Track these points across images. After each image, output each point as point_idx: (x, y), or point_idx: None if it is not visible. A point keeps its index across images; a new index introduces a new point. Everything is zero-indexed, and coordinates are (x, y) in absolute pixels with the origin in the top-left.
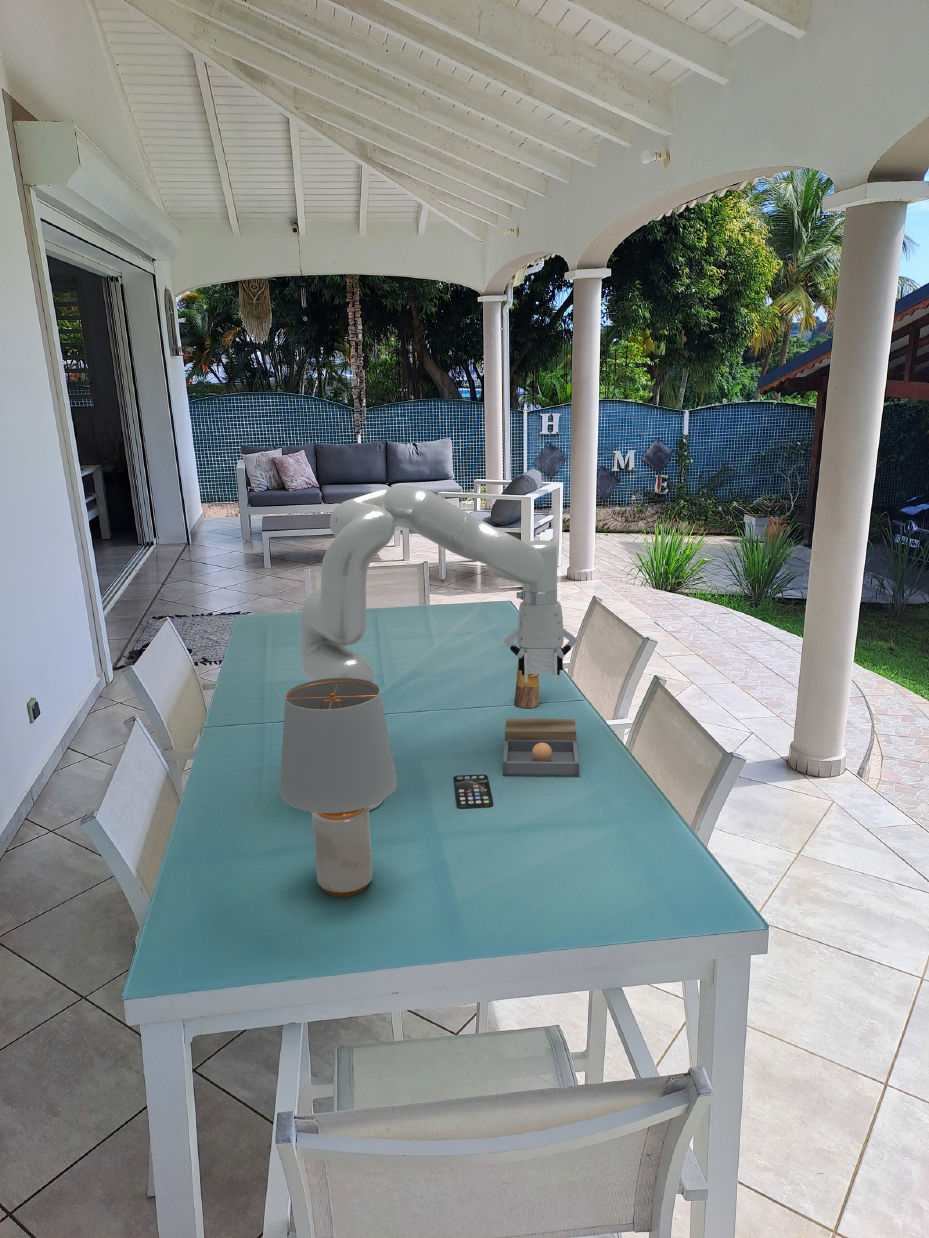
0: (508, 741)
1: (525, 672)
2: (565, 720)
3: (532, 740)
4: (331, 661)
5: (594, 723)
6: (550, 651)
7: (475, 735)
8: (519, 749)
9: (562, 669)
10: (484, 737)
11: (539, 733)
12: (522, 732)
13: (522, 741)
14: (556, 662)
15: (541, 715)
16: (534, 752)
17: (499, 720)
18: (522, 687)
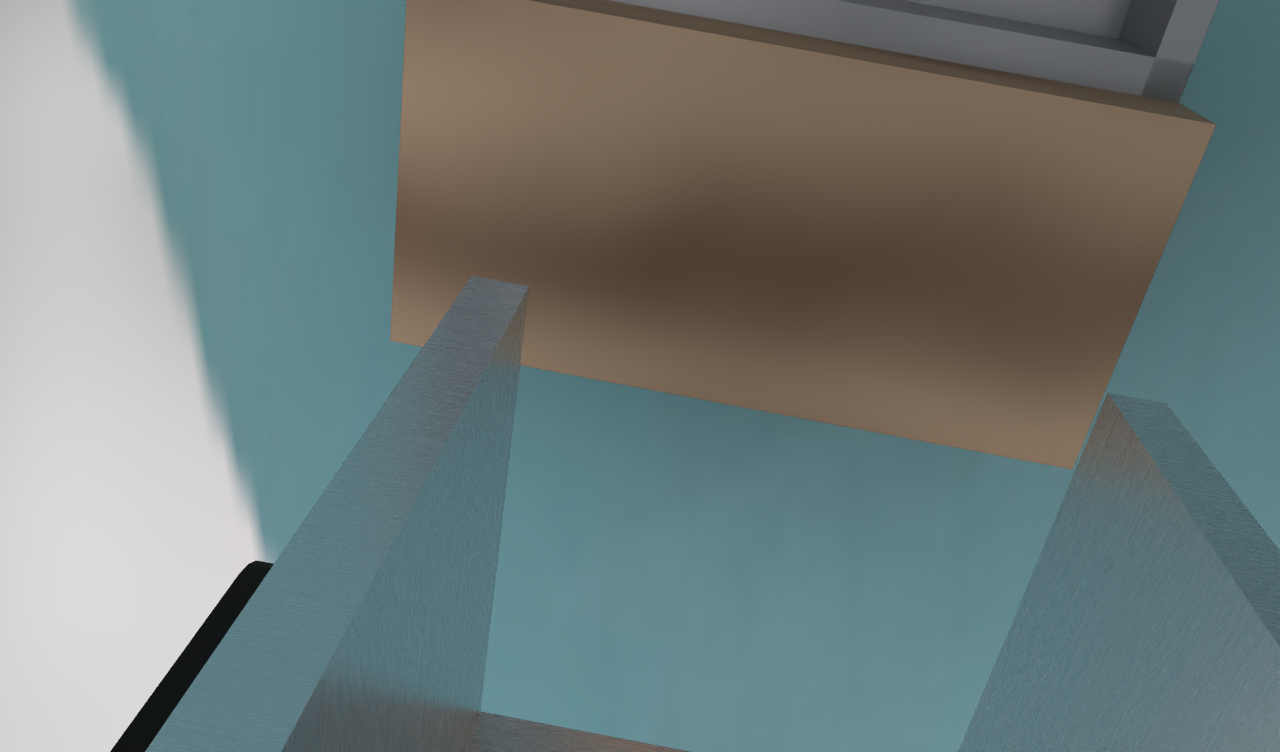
0: (1153, 56)
1: (1245, 541)
2: None
3: (891, 35)
4: None
5: (267, 515)
6: None
7: (1266, 472)
8: (1015, 23)
9: (258, 566)
10: (1204, 421)
11: (817, 50)
12: (1011, 84)
13: (1004, 28)
14: (304, 551)
15: (636, 710)
16: None
17: (970, 692)
18: None
